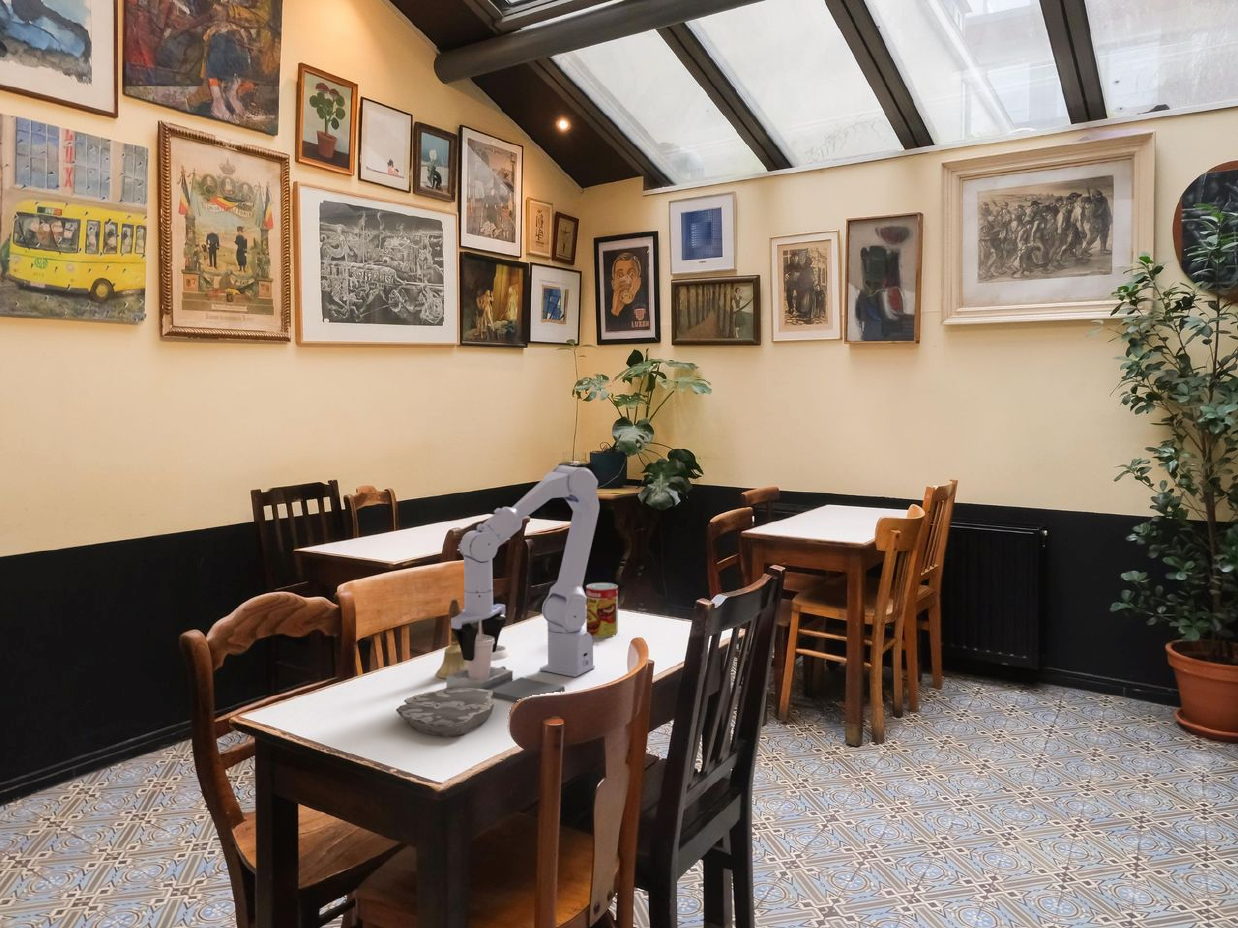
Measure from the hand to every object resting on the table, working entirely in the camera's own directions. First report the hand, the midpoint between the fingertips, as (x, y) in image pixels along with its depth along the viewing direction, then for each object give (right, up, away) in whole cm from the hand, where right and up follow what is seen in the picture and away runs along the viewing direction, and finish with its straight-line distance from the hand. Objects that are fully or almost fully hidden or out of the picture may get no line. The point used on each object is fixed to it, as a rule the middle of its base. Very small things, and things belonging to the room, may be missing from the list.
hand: (479, 655), depth 178 cm
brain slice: (-3, -8, -19) cm, 21 cm away
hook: (0, -5, +22) cm, 22 cm away
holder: (+1, -6, +2) cm, 6 cm away
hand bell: (-6, -6, +8) cm, 12 cm away
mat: (+10, -7, -5) cm, 13 cm away
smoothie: (0, -6, 0) cm, 6 cm away
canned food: (+24, -4, +41) cm, 47 cm away
